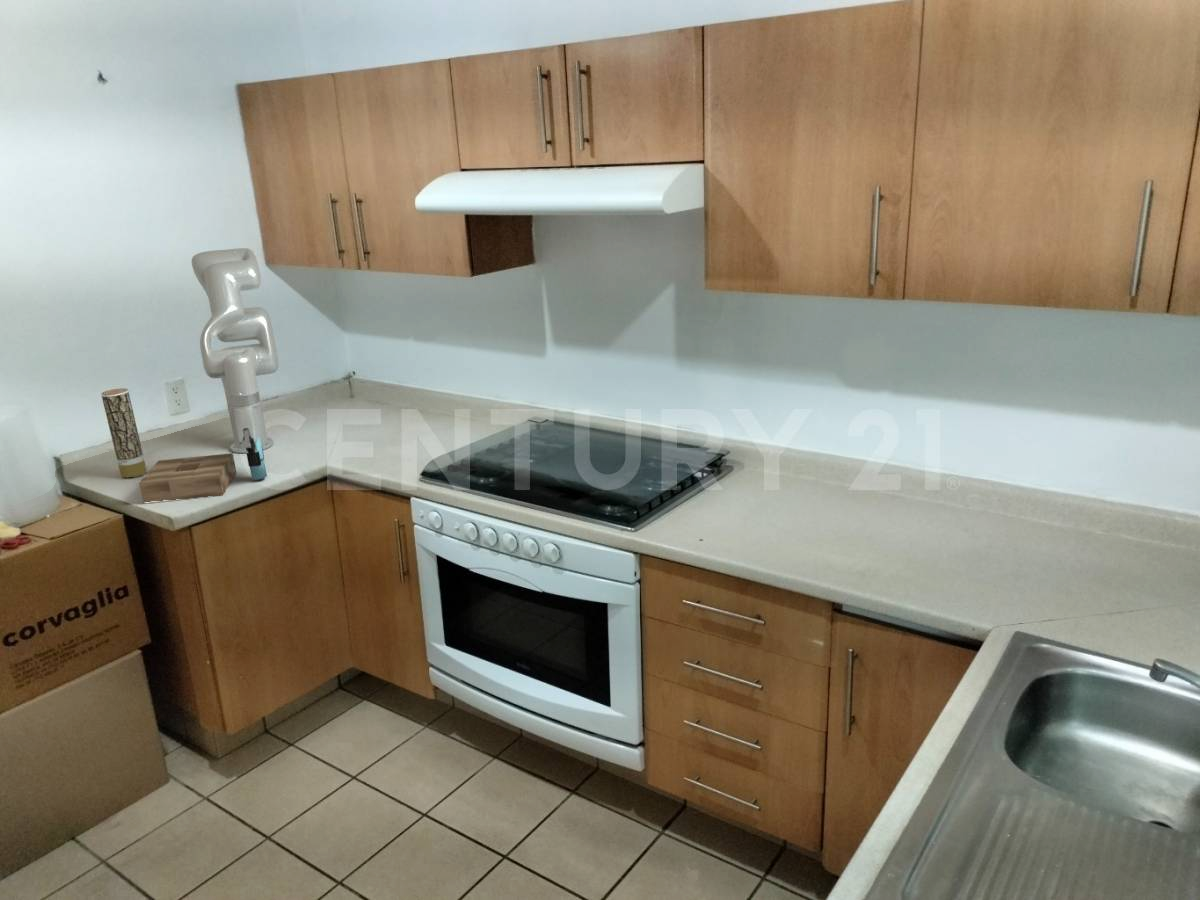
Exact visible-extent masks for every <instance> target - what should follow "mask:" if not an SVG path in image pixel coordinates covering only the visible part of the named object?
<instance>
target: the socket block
mask: <svg viewBox="0 0 1200 900" xmlns="http://www.w3.org/2000/svg"><path fill="white" fill-rule="evenodd" d="M237 474H238V473H237V466H236V462H235V458H234V452H232V453H230V452H229V453H220V454H211V455H200V456H190V457H181V458H180V457H179V458H173V459H163V460H162V459H161V460H158V461H157V462H156V463H155V464H154V465H153V466H152V467H151V469H149V471H148V472H146V473H145V474H144V476H143V477H142V479H141V480H140V481H139V482H138V484H139V485H138V486H139V489H140V493H141V497H142V500H143V501H142V502H143V503H144V502H151V501H163V500H176V499H185V500H191V499H190V498H194V499H200V498H199V497H204V498H209V497H208V496H213V497H220V496H221V495H222V496H224V495H225V493H226V492H227V490H228V488H229V487H230V485H231V483H232V481H233V480H234V478H235V477H236V475H237ZM234 476H235V477H234ZM229 484H230V485H229ZM226 489H227V490H226ZM223 494H224V495H223ZM176 501H177V500H176Z"/></svg>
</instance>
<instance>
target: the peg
mask: <svg viewBox="0 0 1200 900" xmlns="http://www.w3.org/2000/svg"><path fill="white" fill-rule="evenodd" d="M253 440H254V439H251V440H250V441H253ZM256 443H257V451H259V454H260V460H261V465H260V466H253V467H249V470H250V476H251V479H252V480H257V481H258V480H263V479H265V478H267V477H268V474H267V469H266V464H265V456H264V457H263V454H264V450H263V451H262V446H261V440H260V437H259V439H258V440H257V441H256ZM251 445H253V446H254V444H251Z"/></svg>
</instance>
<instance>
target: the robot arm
mask: <svg viewBox="0 0 1200 900" xmlns="http://www.w3.org/2000/svg"><path fill="white" fill-rule="evenodd" d="M191 267H192V269H193V273H194V275H195V277H196V278H197V281H198V283H199V284H200V286H201V287H202V289H203V290H204V292H205V294H206V296H207V298H208V303H209V309H210V313H211V317H210V318H209V320H207V322H206V324H205V325H204V327H203V329H202V331H201V334H200V339H199V348H200V352H201V353H200V354H201V359H202V364H203V369H204V372H205V374H206V376H207V377H209V378H211V379H221V382H222V386H223V390H224V395H225V400H226V404H227V410H228V414H229V415H228V416H229V420H230V424H231V431H232V435H233V440H234V442H233V443H231V445H230V446H229V449H230V452H232V453H235V454H245V455H246V458H247V464H248V467H249V468H250V467H253V466H260V465H261V460H260V454H259V451H257V443H256V441H257V440H258V439H259V437H260V440H261V446H262V451H263V452H264V450H266V449H269V448H270V447H272V446H273V445H274V439H273V438H271V437H268V434H267V429H266V425H265V424H266V423H265V417H264V414H263V408H262V401H261V396H260V391H259V388H258V387H259V386H258V382H257V376H264V375H270V374H274V373H276V372H277V371H278V370H279V357H278V351H277V346H276V342H275V336H274V332H273V326H272V322H271V318H270V316H269V313H268V312H267V309H265V308H263V307H261V306H260V307H259V306H254V307H253V306H252V307H244V305H243V299H242V294H241V292H243V291H252V290H253V291H254V290H257V289H259V288H260V286H261V283H262V279H261V278H262V277H261V271H260V267H259V264H258V260H257V257H256V255H255V253H254V252H253V250H252V249H250V248H245V247H243V248H230V249H215V250H208V251H202V252H199V253H196V254H195V255H193V256H192V258H191ZM215 337H217V339H218V340H219V341H220V342H223V343H235V342H244V341H252V340H256V341H258V342H259V343H254V344H245V345H243V344H242V345H238V346H237V345H236V346H235V345H233V346H229V347H225V348H222V349H217V350H212V342H213V340H214V339H215ZM251 439H254V440H253V441H250V440H251ZM251 444H254V446H253V445H251ZM263 457H264V458H265V455H264V453H263Z"/></svg>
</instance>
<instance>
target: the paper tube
mask: <svg viewBox="0 0 1200 900" xmlns="http://www.w3.org/2000/svg"><path fill="white" fill-rule="evenodd" d="M101 398H102V399H101V400H102V403H103V407H104V411H105V416H106V420H107V424H108V428H109V433H110V437H111V440H112V444H113V449H114V454H115V457H116V461H117V465H118V469H119V472H120V477H122V478H123V477H127V478H126V479H129V478H128V477H135V478H138V477H137V476H139V477H141V476H140V475H142V476H143V474H144V475H146V474H147V467H146V461H145V458H144V454H143V449H142V445H141V440H140V436H139V431H138V427H137V423H136V418H135V414H134V409H133V405H132V402H131V396H130V392H129V389H128V388H114V389H109V390H105V391H102V392H101Z"/></svg>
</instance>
